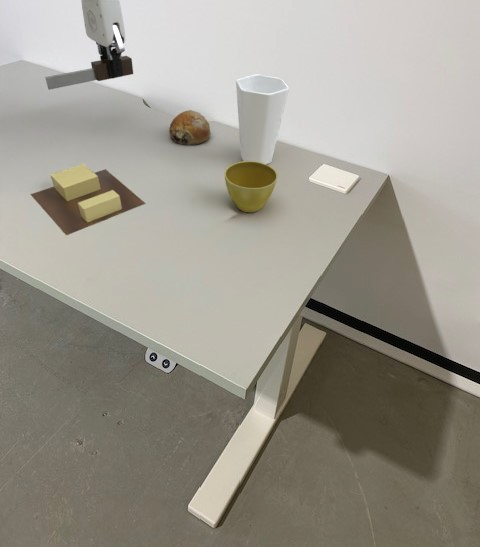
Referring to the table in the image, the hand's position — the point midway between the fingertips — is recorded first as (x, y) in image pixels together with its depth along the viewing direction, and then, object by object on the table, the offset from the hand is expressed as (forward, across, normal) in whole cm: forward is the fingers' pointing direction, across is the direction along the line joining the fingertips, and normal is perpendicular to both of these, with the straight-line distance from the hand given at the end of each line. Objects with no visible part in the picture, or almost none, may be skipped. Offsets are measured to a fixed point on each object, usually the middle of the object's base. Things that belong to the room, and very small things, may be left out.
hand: (113, 74), depth 97 cm
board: (+13, +26, -22) cm, 36 cm away
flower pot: (+13, +45, +3) cm, 47 cm away
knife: (0, 0, -5) cm, 5 cm away
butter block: (+11, +22, -22) cm, 33 cm away
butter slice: (+11, +32, -22) cm, 40 cm away
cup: (+13, +32, +17) cm, 39 cm away
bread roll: (+13, +14, +11) cm, 22 cm away
